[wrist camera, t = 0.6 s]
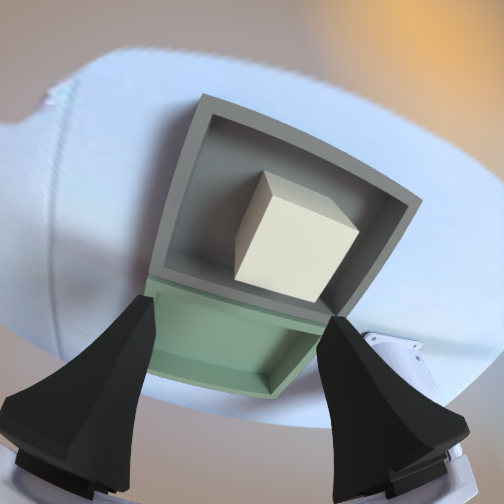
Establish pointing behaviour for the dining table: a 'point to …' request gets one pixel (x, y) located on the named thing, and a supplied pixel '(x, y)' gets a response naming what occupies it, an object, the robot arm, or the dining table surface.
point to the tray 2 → (227, 341)
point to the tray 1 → (239, 196)
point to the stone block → (291, 239)
